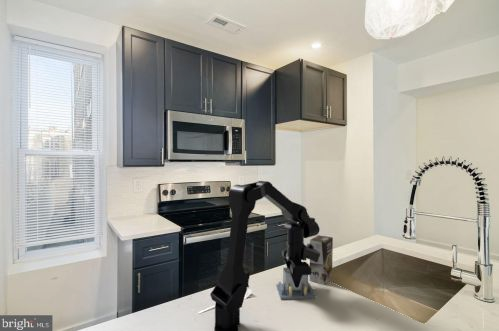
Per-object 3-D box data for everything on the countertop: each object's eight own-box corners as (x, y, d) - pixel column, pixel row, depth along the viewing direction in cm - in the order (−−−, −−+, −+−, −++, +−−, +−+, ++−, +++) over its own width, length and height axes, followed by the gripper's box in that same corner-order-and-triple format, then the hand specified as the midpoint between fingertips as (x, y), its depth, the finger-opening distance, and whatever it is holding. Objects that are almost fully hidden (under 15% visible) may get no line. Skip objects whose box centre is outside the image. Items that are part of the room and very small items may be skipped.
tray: (280, 299, 86) (281, 288, 86) (276, 286, 95) (276, 276, 95) (315, 298, 87) (315, 287, 87) (308, 285, 96) (308, 275, 96)
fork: (196, 313, 79) (195, 307, 79) (248, 292, 91) (248, 287, 91) (200, 318, 77) (200, 312, 77) (253, 296, 88) (253, 291, 88)
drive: (285, 290, 88) (285, 272, 88) (282, 284, 93) (283, 267, 93) (308, 289, 89) (308, 272, 89) (304, 283, 93) (304, 266, 93)
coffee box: (324, 285, 96) (325, 242, 96) (308, 280, 100) (309, 239, 100) (333, 276, 103) (333, 237, 103) (317, 272, 107) (318, 234, 107)
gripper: (327, 248, 82) (326, 297, 82) (309, 232, 100) (309, 272, 100) (293, 249, 81) (292, 298, 81) (281, 233, 100) (281, 272, 100)
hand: (295, 283), depth 91 cm, fingers closed on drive, 4 cm apart
